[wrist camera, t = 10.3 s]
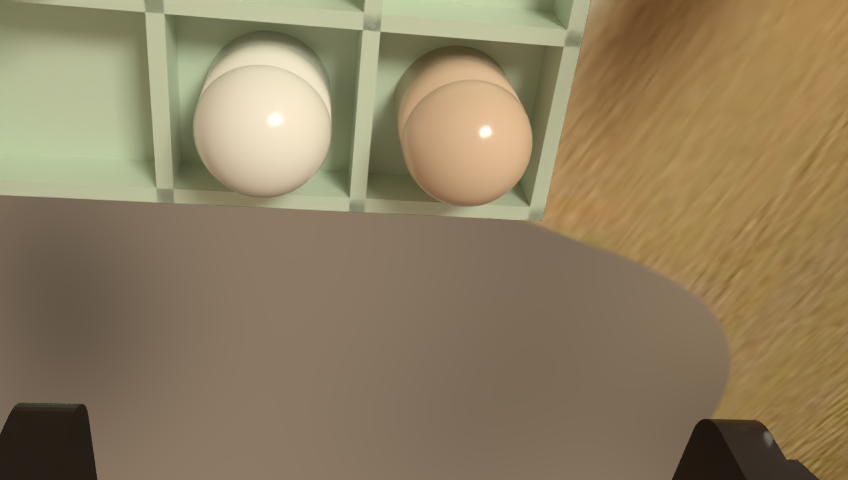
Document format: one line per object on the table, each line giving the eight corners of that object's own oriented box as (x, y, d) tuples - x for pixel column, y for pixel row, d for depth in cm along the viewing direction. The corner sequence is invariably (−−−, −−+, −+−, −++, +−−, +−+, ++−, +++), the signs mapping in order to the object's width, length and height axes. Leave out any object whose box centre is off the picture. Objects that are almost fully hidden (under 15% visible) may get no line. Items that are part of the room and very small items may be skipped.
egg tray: (-109, -299, 23) (-155, -304, 21) (608, -204, 27) (635, -199, 24) (-21, 159, 31) (-49, 192, 29) (527, 188, 34) (541, 220, 32)
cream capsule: (205, 25, 29) (180, 85, 24) (334, 36, 29) (336, 95, 24) (208, 142, 31) (186, 219, 26) (327, 149, 32) (328, 225, 27)
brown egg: (399, 41, 30) (415, 101, 25) (519, 50, 30) (558, 110, 25) (389, 153, 32) (400, 228, 27) (500, 159, 33) (532, 233, 28)
